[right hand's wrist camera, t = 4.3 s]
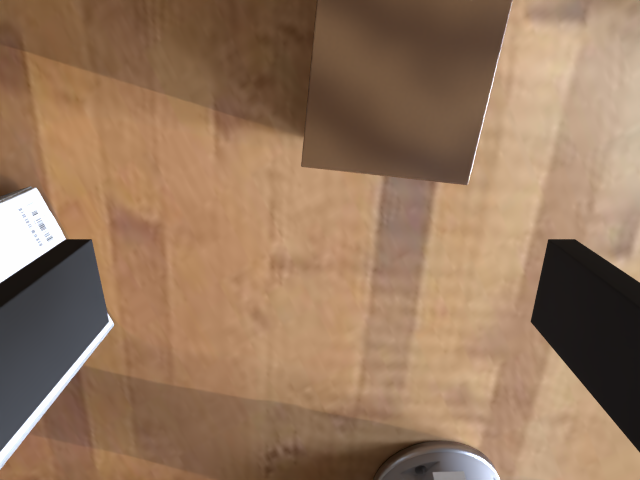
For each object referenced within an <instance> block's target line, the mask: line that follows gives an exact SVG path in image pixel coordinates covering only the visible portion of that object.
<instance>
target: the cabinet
mask: <svg viewBox="0 0 640 480" xmlns="http://www.w3.org/2000/svg"><path fill="white" fill-rule="evenodd" d="M512 1H513V0H317V6H316V17H315V27H314V38H313V48H312V58H311V69H310V79H309V90H308V100H307V110H306V121H305V131H304V142H303V152H302V162H301V166H302V167H308V168H317V169H326V170H335V171H344V172H353V173H362V174H371V175H380V176H389V177H398V178H407V179H416V180H425V181H434V182H444V183H453V184H462V185H468V182H469V178H470V174H471V170H472V166H473V162H474V158H475V153H476V149H477V145H478V141H479V137H480V133H481V129H482V125H483V121H484V116H485V112H486V108H487V104H488V100H489V96H490V92H491V88H492V84H493V79H494V75H495V71H496V67H497V63H498V59H499V55H500V51H501V47H502V42H503V38H504V34H505V30H506V26H507V22H508V18H509V14H510V10H511V5H512Z"/></svg>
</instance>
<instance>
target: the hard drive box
mask: <svg viewBox="0 0 640 480" xmlns="http://www.w3.org/2000/svg"><path fill="white" fill-rule="evenodd" d="M63 240H65V237H64V235H63V233H62V230H61V229H60V227H59V226H58V224H57V222H56V220H55V218H54V216H53V215H52V214H51V212H50V211H49V209H48V207H47V205H46V203H45V202H44V200H43V198H42V196H41V195H40V193H39V191H38V189H37V188H32V187H27V188H24V189H21V190H18V191H15V192H12V193H9V194H6V195H3V196H0V283H1V282H2V281H4V280H5V279H7V278H8V277H10V276H11V275H13V274H14V273H16V272H17V271H19V270H20V269H21V268H23V267H24V266H26V265H27V264H29V263H30V262H32V261H33V260H35V259H36V258H38V257H39V256H41V255H42V254H44V253H45V252H47V251H48V250H50V249H51V248H53V247H54V246H56V245H57V244H59V243H60V242H62V241H63ZM107 314H108V313H107ZM108 318H109V323H108V324H107V325H106V326H105V327H104V329H103V330H102V331H101V332H100V333H99V335H98V336H97V337H96V338H95V339H94V341H93V342H92V343H91V344H90V345H89V347H88V348H87V349H86V350H85V351H84V353H83V354H82V355H81V356H80V357H79V359H78V360H77V361H76V362H75V363H74V365H73V366H72V367H71V368H70V369H69V371H68V372H67V373H66V374H65V375H64V376H63V378H62V379H61V380H60V381H59V382H58V384H57V385H56V386H55V387H54V388H53V390H52V391H51V392H50V393H49V394H48V396H47V397H46V398H45V399H44V400H43V402H42V403H41V404H40V405H39V406H38V408H37V409H36V410H35V411H34V412H33V414H32V415H31V416H30V417H29V418H28V420H27V421H26V422H25V423H24V424H23V426H22V427H21V428H20V429H19V430H18V432H17V433H16V434H15V435H14V436H13V438H12V439H11V440H10V441H9V442H8V444H7V445H6V446H5V447H4V448H3V450H2V451H1V452H0V469H1V468H2V466H3V465H4V464H5V463H6V461H7V460H8V459H9V458H10V456H11V455H12V454H13V453H14V451H15V450H16V449H17V448H18V446H19V445H20V444H21V442H22V441H23V440H24V439H25V437H26V436H27V435H28V434H29V432H30V431H31V430H32V428H33V427H34V426H35V425H36V423H37V422H38V421H39V420H40V418H41V417H42V416H43V414H44V413H45V412H46V411H47V409H48V408H49V407H50V406H51V404H52V403H53V402H54V401H55V399H56V398H57V397H58V396H59V394H60V393H61V392H62V391H63V389H64V388H65V387H66V385H67V384H68V383H69V382H70V380H71V379H72V378H73V377H74V375H75V374H76V373H77V372H78V370H79V369H80V368H81V367H82V365H83V364H84V363H85V361H86V360H87V359H88V358H89V356H90V355H91V354H92V352H93V351H94V350H95V349H96V347H97V346H98V345H99V344H100V342H101V341H102V340H103V339H104V337H105V336H106V335H107V334H108V332H109V331H110V330H111V329H112V327H113V326H114V324H113V322H112V320H111V318H110V316H109V315H108Z"/></svg>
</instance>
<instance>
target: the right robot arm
mask: <svg viewBox="0 0 640 480" xmlns="http://www.w3.org/2000/svg"><path fill="white" fill-rule="evenodd" d="M108 323H109V318H108V314H107V309H106V304H105V299H104V295H103V290H102V285H101V281H100V276H99V271H98V267H97V262H96V257H95V253H94V248H93V243H92V239H65V240H63V241H62V242H60V243H59V244H57V245H56V246H54V247H53V248H51V249H50V250H48V251H47V252H45V253H44V254H42V255H41V256H39V257H38V258H36V259H35V260H33V261H32V262H30V263H29V264H27V265H26V266H24V267H23V268H21V269H20V270H19V271H17V272H16V273H14V274H13V275H11V276H10V277H8V278H7V279H5V280H4V281H2V282H1V283H0V452H1V451H2V450H3V448H4V447H5V446H6V445H7V444H8V442H9V441H10V440H11V439H12V438H13V436H14V435H15V434H16V433H17V432H18V430H19V429H20V428H21V427H22V426H23V424H24V423H25V422H26V421H27V420H28V418H29V417H30V416H31V415H32V414H33V412H34V411H35V410H36V409H37V408H38V406H39V405H40V404H41V403H42V402H43V400H44V399H45V398H46V397H47V396H48V394H49V393H50V392H51V391H52V390H53V388H54V387H55V386H56V385H57V384H58V382H59V381H60V380H61V379H62V378H63V376H64V375H65V374H66V373H67V372H68V371H69V369H70V368H71V367H72V366H73V365H74V363H75V362H76V361H77V360H78V359H79V357H80V356H81V355H82V354H83V353H84V351H85V350H86V349H87V348H88V347H89V345H90V344H91V343H92V342H93V341H94V339H95V338H96V337H97V336H98V335H99V333H100V332H101V331H102V330H103V329H104V327H105V326H106V325H107V324H108ZM531 323H532V324H533V325H534V326H535V327H536V329H537V330H538V331H539V332H540V333H541V335H542V336H543V337H544V338H545V339H546V341H547V342H548V343H549V344H550V345H551V347H552V348H553V349H554V350H555V351H556V353H557V354H558V355H559V356H560V357H561V359H562V360H563V361H564V362H565V363H566V365H567V366H568V367H569V368H570V369H571V371H572V372H573V373H574V374H575V375H576V376H577V378H578V379H579V380H580V381H581V382H582V384H583V385H584V386H585V387H586V388H587V390H588V391H589V392H590V393H591V394H592V396H593V397H594V398H595V399H596V400H597V402H598V403H599V404H600V405H601V406H602V408H603V409H604V410H605V411H606V412H607V414H608V415H609V416H610V417H611V418H612V420H613V421H614V422H615V423H616V424H617V426H618V427H619V428H620V429H621V430H622V432H623V433H624V434H625V435H626V436H627V438H628V439H629V440H630V441H631V442H632V444H633V445H634V446H635V447H636V448H637V450H638V451H639V452H640V283H639V282H638V281H636V280H635V279H633V278H632V277H630V276H629V275H627V274H626V273H624V272H623V271H621V270H620V269H619V268H617V267H616V266H614V265H613V264H611V263H610V262H608V261H607V260H605V259H604V258H602V257H601V256H599V255H598V254H596V253H595V252H593V251H592V250H590V249H589V248H587V247H586V246H584V245H583V244H581V243H580V242H578V241H577V240H575V239H548V243H547V248H546V253H545V257H544V262H543V267H542V271H541V276H540V281H539V285H538V290H537V295H536V299H535V304H534V309H533V314H532V318H531ZM373 480H500V478H499V476H498V474H497V472H496V469H495V467H494V465H493V464H492V462H491V461H490V460H489V459H488V458H487V457H486V456H485V455H484V454H483V453H481V452H480V451H478V450H476V449H475V448H472V447H470V446H467V445H465V444H461V443H456V442H449V441H432V442H425V443H420V444H416V445H413V446H410V447H408V448H405V449H403V450H401V451H399V452H398V453H396V454H394V455H393V456H391V457H390V458H389V459H388V460H387V461H386V462H384V463H383V465H382V466H381V467H380V468H379V470H378V471H377V473H376V475H375V477H374V479H373Z"/></svg>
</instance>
